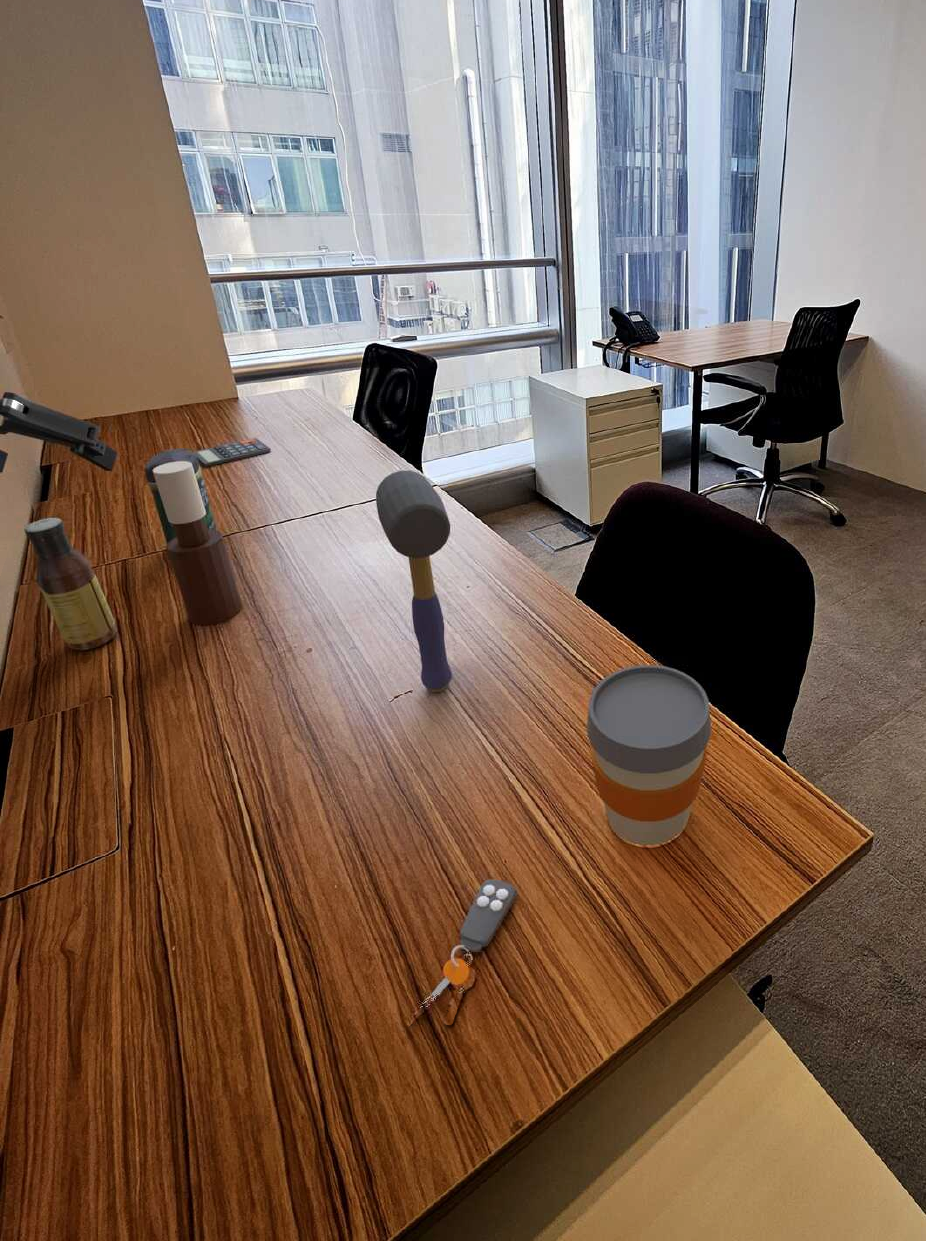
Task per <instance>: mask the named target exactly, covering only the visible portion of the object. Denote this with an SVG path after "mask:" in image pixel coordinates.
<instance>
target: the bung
mask: <svg viewBox="0 0 926 1241" xmlns="http://www.w3.org/2000/svg"><path fill="white" fill-rule="evenodd" d="M153 474H154V477H155V480H156V483H157V486H158V489H159V493H160V496H161V499H162V502H163V505H164V508H165V512H166V515H167V518H168V521H169V522H170V523H173V524H184V523H189V522H193V521H196V520H199V519H201V518H202V517H204V516H205V515H206V511H205V507H204V504H203V500H202V497H201V493H200V490H199V487H198V483H197V480H196V476H195V473H194V469H193V466H192V463H190V462H187V461H178V462H171V463H166V464H163V465H160V466H158V467H156V468H154V469H153Z"/></svg>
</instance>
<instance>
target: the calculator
mask: <svg viewBox="0 0 926 1241" xmlns="http://www.w3.org/2000/svg"><path fill="white" fill-rule="evenodd" d="M271 451H272V450H271V447H269V446H268V445H266V444H265V443H264V442H262V441H261V440H259V439H258V438H257V437H253V438H247V439H243V440H240V441H239V440H238V441H235V442H231V443H225V444H221V445H217V446H212V447H207V448H203V449H199V450H193V451H192V452H194V453H195V454H196V455H197V459H198V462H199V463H200V464H202V465H203V466H204V467H206V468H207V467H211V466H215V465H220V464H224V463H227V462H232V461H237V460H240V459H244V458H249V457H253V456H259V455H262V454H266V453H270V452H271Z"/></svg>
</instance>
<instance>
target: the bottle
mask: <svg viewBox="0 0 926 1241" xmlns="http://www.w3.org/2000/svg"><path fill="white" fill-rule="evenodd" d="M172 524H173V523H172ZM173 527H174V530H175V534H176V538H174V539H172V540H171V541H170V542H169V543H166V546H165V549H166V552H167V555H168V558H169V562H170V565H171V567H172V571H173V573H174V576H175V579H176V583H177V586H178V589H179V592H180V595H181V599H182V601H183V604H184V608H185V610H186V613H187V617H188V618H189V621H190V622H191V624H193V625H195V626H211V625H217V624H220V623H223V622H226V621H227V620H230V619H232V618H234V617H235V616H236V615H238V614H239V613H240V611H242V608H243V605H242V598H241V596H240V592H239V589H238V585H237V580H236V578H235V574H234V571H233V567H232V563H231V561H230V557H229V554H228V550H227V546H226V542H225V540H224V536H223V533H222V532H221V531H219V530H218V531H216V530H208V529H207V525H206V522H205V518H204V517H202V518H201V519H199V520H196V521H193V522H189V523H184V524H173Z"/></svg>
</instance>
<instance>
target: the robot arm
mask: <svg viewBox="0 0 926 1241" xmlns="http://www.w3.org/2000/svg"><path fill="white" fill-rule="evenodd" d="M0 416H1V417H2V421H1V424H0V435H7V434H9V433H11V434H14V435H15V434H16V435H18V436H19V435H20V436H24V437H27V438H31V439H36V440H40V441H43V442H48V443H51V444H57V445H60V446H65V447H68V448H69V452H71V453H73V454H74V455H77V456H79V457H80V458H82V459H84V460H86V461H87V462H89V463H91V464H92V465H95V466H97V467H98V468H100V469H102V470H103V471H105V472H113V470H114V466H115V461H116V458H117V454H118V451H116V450H115V449H113V448H111V447H110V446H108V445H107V444H106V443H105V442H103V441H101V440H100V439H98V438H99V433H100V429H101V427H100V426H99V425H97V424H94V423H91V422H88V421H86V420H83V419H80V418H77V417H75V416H72V415H69V414H66V413H63V412H61V411H58V410H55V409H53V408H49V407H47V406H44V405H41V404H38V403H36V402H34V401H33V402H32V401H30V400H29V399H26V398H24V397H23V396H20V395H18V394H17V393H15V392H9V391H4V392H3V395H2V397H1V398H0ZM8 456H9V452H6V451H4V450H2V449H0V474H1V473H3V471H4V468H5V465H6V462H7V459H8Z"/></svg>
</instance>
